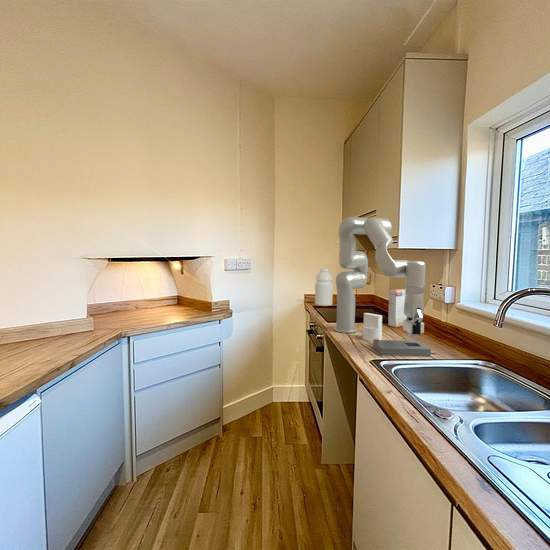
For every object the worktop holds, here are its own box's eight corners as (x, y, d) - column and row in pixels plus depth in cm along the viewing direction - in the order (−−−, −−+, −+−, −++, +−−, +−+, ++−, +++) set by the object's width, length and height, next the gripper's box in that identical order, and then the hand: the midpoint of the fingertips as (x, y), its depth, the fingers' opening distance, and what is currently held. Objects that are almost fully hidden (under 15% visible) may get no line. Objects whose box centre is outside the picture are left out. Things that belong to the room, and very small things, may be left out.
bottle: (312, 303, 270) (312, 268, 268) (328, 302, 273) (329, 268, 271) (318, 306, 256) (319, 269, 254) (335, 305, 260) (336, 269, 258)
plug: (402, 334, 147) (403, 320, 147) (417, 335, 147) (418, 320, 147) (408, 338, 141) (408, 323, 141) (423, 338, 141) (424, 323, 140)
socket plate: (372, 346, 152) (373, 338, 151) (417, 347, 151) (418, 338, 151) (381, 355, 139) (381, 346, 138) (430, 356, 138) (431, 347, 138)
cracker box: (405, 323, 200) (406, 288, 198) (413, 325, 194) (415, 289, 192) (387, 325, 193) (388, 289, 192) (395, 327, 188) (396, 290, 186)
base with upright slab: (358, 338, 165) (359, 314, 164) (370, 335, 171) (370, 312, 170) (374, 342, 158) (374, 317, 157) (385, 339, 164) (386, 315, 163)
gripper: (398, 287, 151) (397, 327, 153) (413, 292, 134) (411, 337, 136) (415, 288, 151) (414, 327, 153) (432, 293, 134) (430, 337, 135)
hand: (413, 331), depth 144 cm, fingers closed on plug, 6 cm apart
